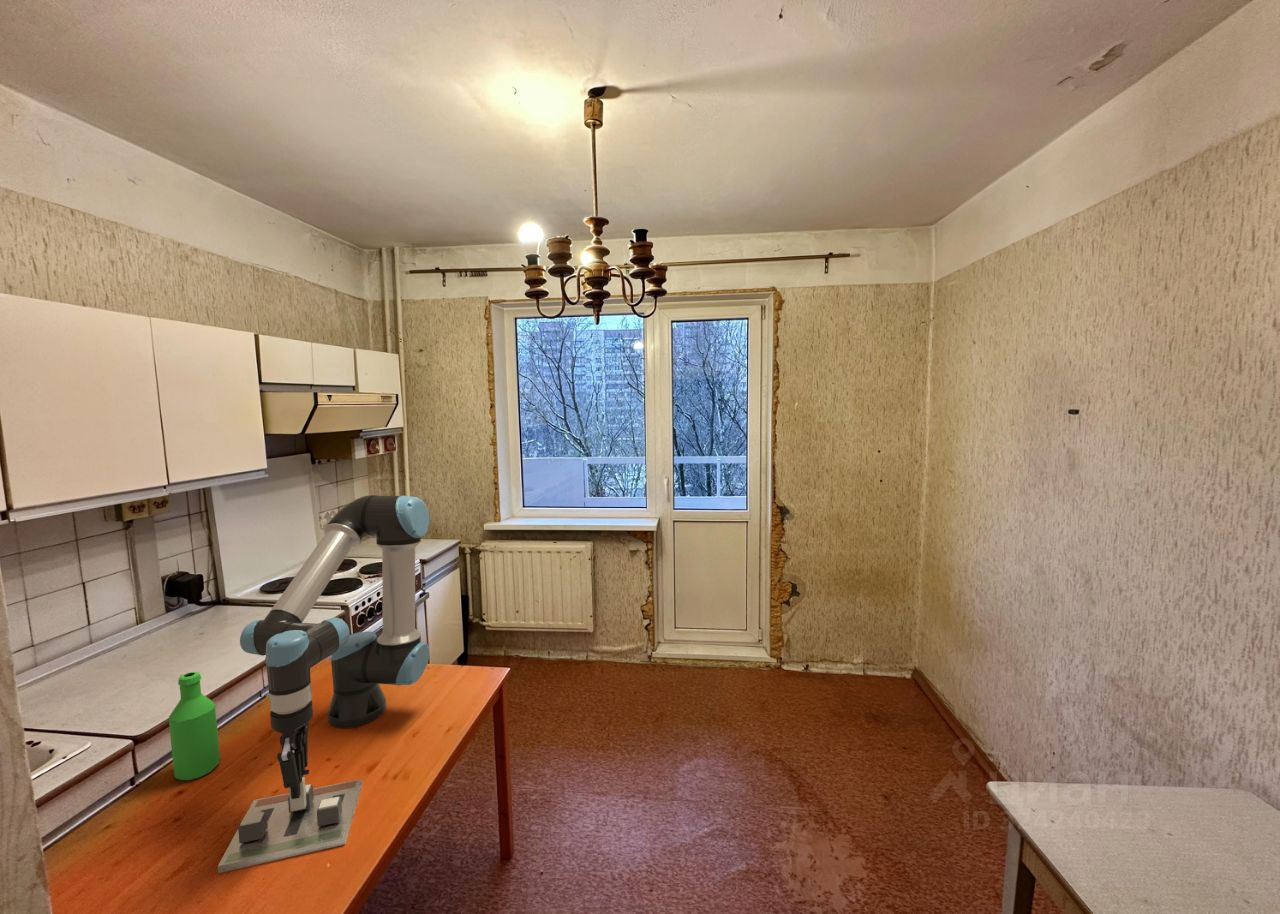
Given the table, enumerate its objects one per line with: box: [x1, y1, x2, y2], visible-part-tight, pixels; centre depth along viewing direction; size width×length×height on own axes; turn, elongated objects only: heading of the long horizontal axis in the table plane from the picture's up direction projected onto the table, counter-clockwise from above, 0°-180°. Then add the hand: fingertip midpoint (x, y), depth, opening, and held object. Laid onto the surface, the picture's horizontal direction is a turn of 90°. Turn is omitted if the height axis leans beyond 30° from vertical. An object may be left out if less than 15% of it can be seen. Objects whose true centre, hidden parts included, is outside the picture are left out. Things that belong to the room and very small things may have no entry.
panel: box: [217, 778, 363, 874], centre depth 114 cm, size 18×22×2 cm
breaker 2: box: [288, 783, 314, 813], centre depth 117 cm, size 3×4×4 cm
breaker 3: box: [317, 797, 342, 826], centre depth 113 cm, size 3×4×4 cm
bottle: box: [168, 671, 221, 781], centre depth 130 cm, size 9×9×25 cm
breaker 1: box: [237, 812, 268, 843], centre depth 109 cm, size 3×4×4 cm
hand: (298, 807), depth 115 cm, fingers closed
